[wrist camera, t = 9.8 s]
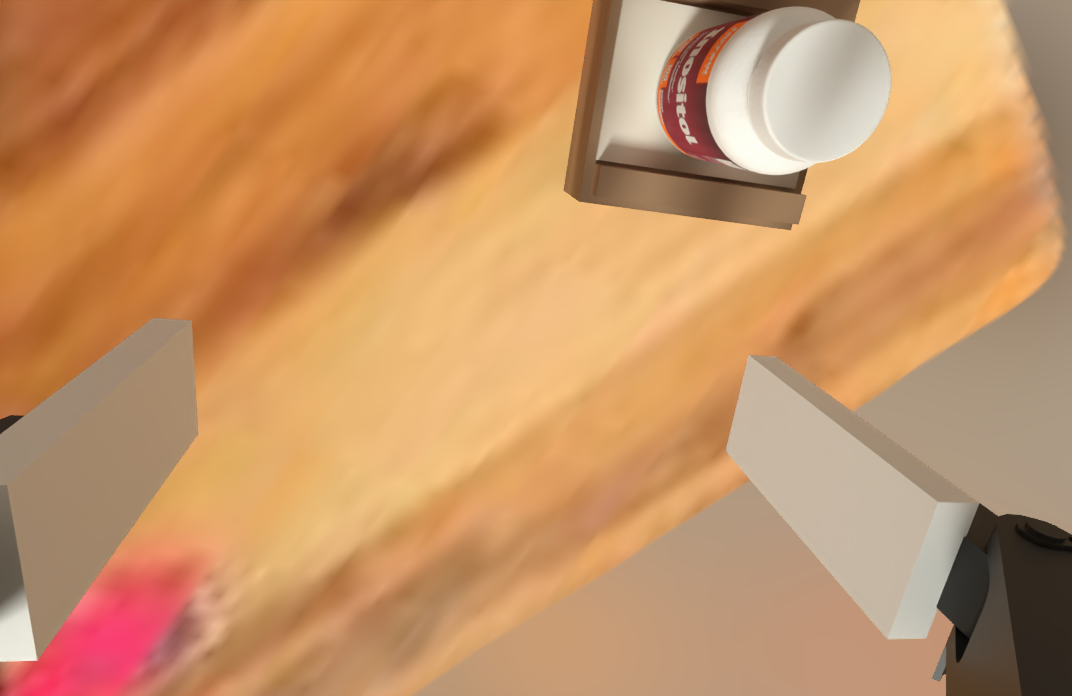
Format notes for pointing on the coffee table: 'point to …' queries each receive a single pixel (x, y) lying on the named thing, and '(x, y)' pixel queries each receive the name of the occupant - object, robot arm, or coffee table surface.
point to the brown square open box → (633, 127)
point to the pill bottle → (774, 91)
